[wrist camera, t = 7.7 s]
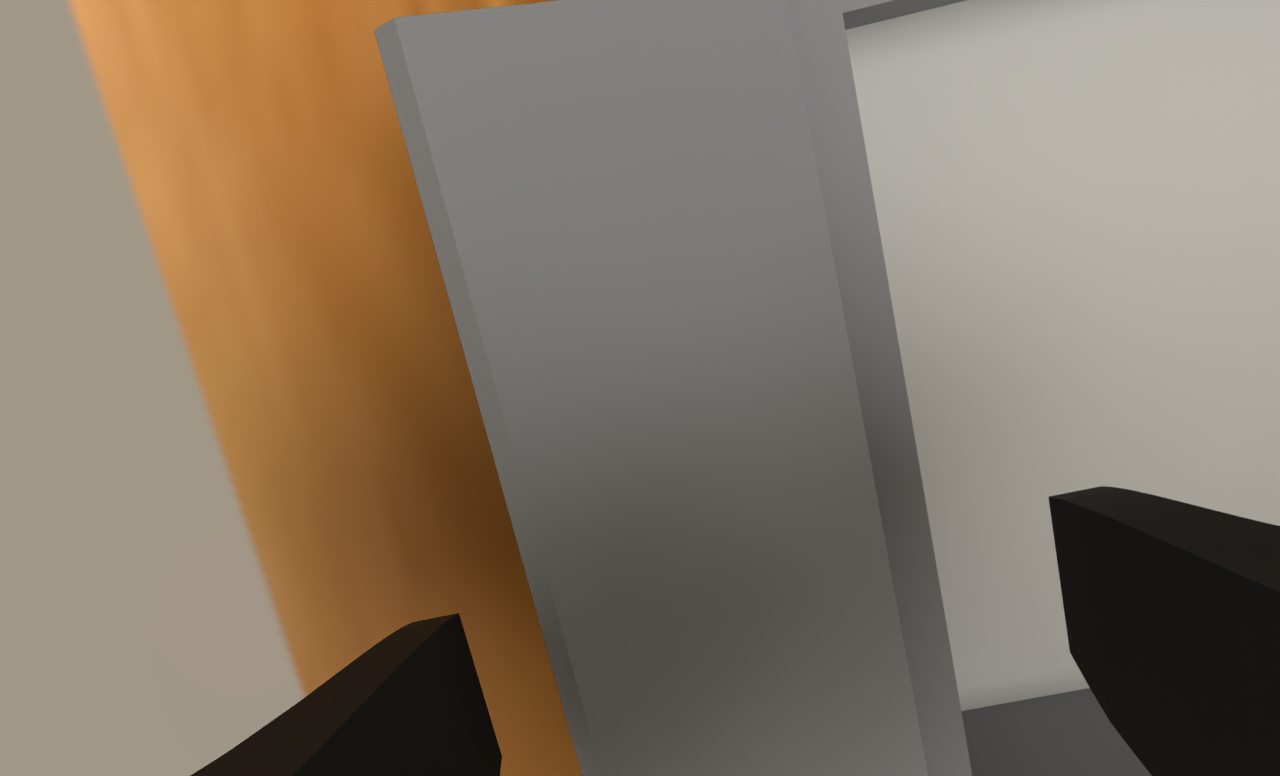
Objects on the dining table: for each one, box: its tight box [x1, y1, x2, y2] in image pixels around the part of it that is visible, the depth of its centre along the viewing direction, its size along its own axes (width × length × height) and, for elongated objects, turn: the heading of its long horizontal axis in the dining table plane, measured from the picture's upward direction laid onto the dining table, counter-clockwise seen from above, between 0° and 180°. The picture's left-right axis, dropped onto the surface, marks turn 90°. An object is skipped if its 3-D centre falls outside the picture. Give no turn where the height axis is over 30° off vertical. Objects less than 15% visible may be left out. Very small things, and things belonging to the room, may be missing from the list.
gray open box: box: [787, 0, 1280, 776], centre depth 17 cm, size 14×16×4 cm
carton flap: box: [374, 0, 928, 776], centre depth 13 cm, size 6×15×1 cm
